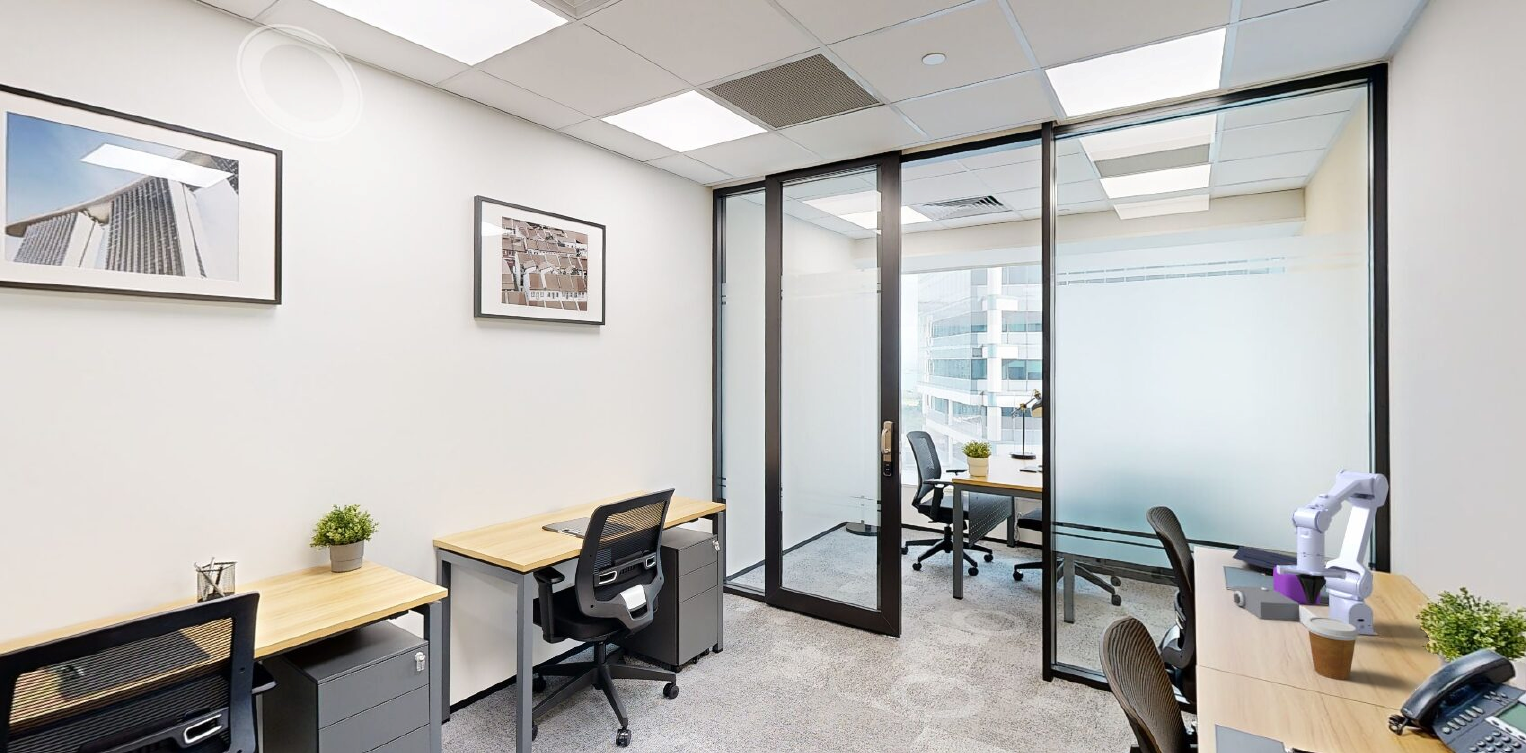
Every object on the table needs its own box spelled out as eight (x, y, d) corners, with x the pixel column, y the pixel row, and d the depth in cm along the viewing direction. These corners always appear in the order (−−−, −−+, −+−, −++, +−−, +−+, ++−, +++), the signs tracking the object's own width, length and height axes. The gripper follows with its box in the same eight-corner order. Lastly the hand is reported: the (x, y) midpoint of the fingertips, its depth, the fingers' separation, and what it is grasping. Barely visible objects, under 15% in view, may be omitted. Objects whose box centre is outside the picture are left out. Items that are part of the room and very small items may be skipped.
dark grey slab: (1239, 551, 250) (1241, 542, 250) (1343, 577, 230) (1344, 567, 230) (1230, 566, 233) (1231, 556, 232) (1341, 595, 212) (1342, 585, 212)
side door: (1300, 621, 185) (1300, 606, 185) (1303, 622, 185) (1303, 606, 185) (1322, 640, 173) (1322, 624, 172) (1326, 640, 172) (1326, 624, 172)
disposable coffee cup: (1305, 661, 162) (1305, 613, 161) (1357, 672, 156) (1357, 622, 155) (1306, 675, 154) (1305, 625, 154) (1360, 687, 148) (1360, 635, 148)
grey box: (1303, 622, 185) (1303, 603, 185) (1258, 620, 187) (1258, 601, 187) (1271, 603, 200) (1271, 585, 200) (1229, 601, 202) (1229, 583, 202)
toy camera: (1296, 591, 211) (1296, 560, 211) (1328, 606, 197) (1328, 573, 197) (1260, 590, 212) (1260, 560, 212) (1290, 605, 198) (1290, 573, 198)
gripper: (1283, 554, 174) (1283, 604, 174) (1351, 559, 169) (1351, 611, 169) (1273, 547, 181) (1274, 595, 181) (1338, 552, 175) (1339, 601, 176)
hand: (1310, 602), depth 175 cm, fingers closed
